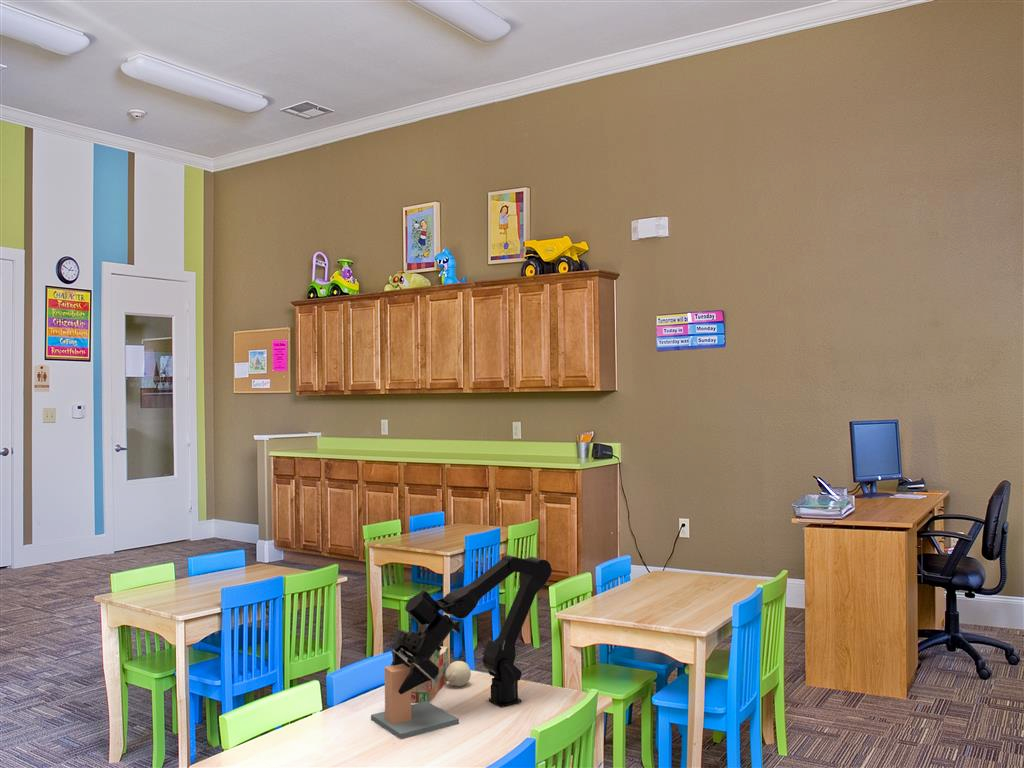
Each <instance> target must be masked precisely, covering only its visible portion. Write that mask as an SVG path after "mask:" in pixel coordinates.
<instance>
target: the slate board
mask: <svg viewBox="0 0 1024 768" xmlns="http://www.w3.org/2000/svg"><path fill="white" fill-rule="evenodd" d="M411 719H412V720H411V721H406V722H402V723H397V724H391V723H390V722H389V721H388V720H387V719H386V718H385V711H382V712H377V713H373V714H370V720H371V721H372V722H373V723H376V724H377V725H379V726H380V727H381V728H383V729H385V731H388V732H389V733H391V734H392V735H394V736H396V737H397V738H398V739H400V740H402V739H406V738H407V739H408V738H410V737H414V736H417V735H421V734H426V733H429V732H433V731H436V730H440V729H444V728H447V727H452V726H454V725H459V724H460V718H458V717H457V716H455V715H453V714H451V713H449V712H448V711H446V710H444V709H442V708H440V707H438V706H436V705H434V704H433V703H431V702H427V701H426V702H422V703H412V704H411Z"/></svg>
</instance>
